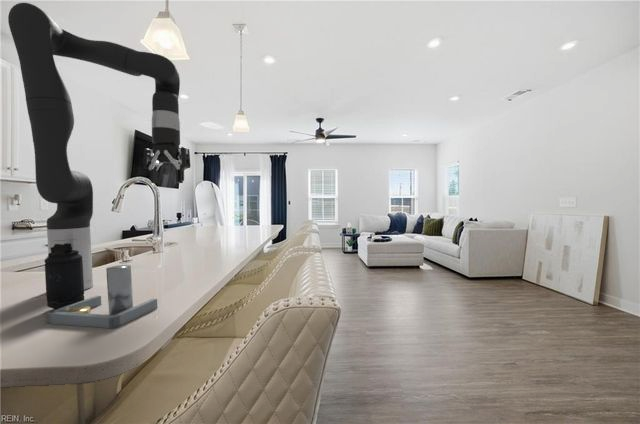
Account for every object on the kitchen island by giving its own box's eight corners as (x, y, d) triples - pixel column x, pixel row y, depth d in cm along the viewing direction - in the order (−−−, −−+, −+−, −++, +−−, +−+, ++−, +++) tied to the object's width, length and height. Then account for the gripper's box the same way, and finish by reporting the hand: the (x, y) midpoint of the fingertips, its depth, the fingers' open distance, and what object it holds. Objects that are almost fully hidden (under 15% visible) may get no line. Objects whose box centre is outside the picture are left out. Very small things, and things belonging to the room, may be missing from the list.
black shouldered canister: (92, 303, 72) (88, 241, 71) (66, 314, 65) (62, 245, 65) (64, 303, 72) (61, 241, 72) (36, 313, 66) (32, 245, 65)
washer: (95, 314, 65) (94, 307, 64) (75, 323, 61) (75, 315, 61) (81, 312, 66) (81, 305, 66) (61, 320, 62) (60, 312, 62)
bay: (45, 323, 60) (45, 313, 60) (97, 304, 71) (96, 295, 71) (114, 328, 57) (114, 318, 57) (157, 307, 68) (157, 298, 68)
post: (103, 316, 64) (101, 269, 63) (121, 308, 68) (118, 264, 67) (121, 317, 63) (118, 269, 62) (138, 309, 67) (135, 265, 67)
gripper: (135, 127, 88) (136, 182, 88) (179, 124, 85) (180, 182, 86) (154, 132, 95) (155, 184, 96) (195, 130, 92) (195, 183, 93)
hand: (167, 183), depth 91 cm, fingers open, 8 cm apart
